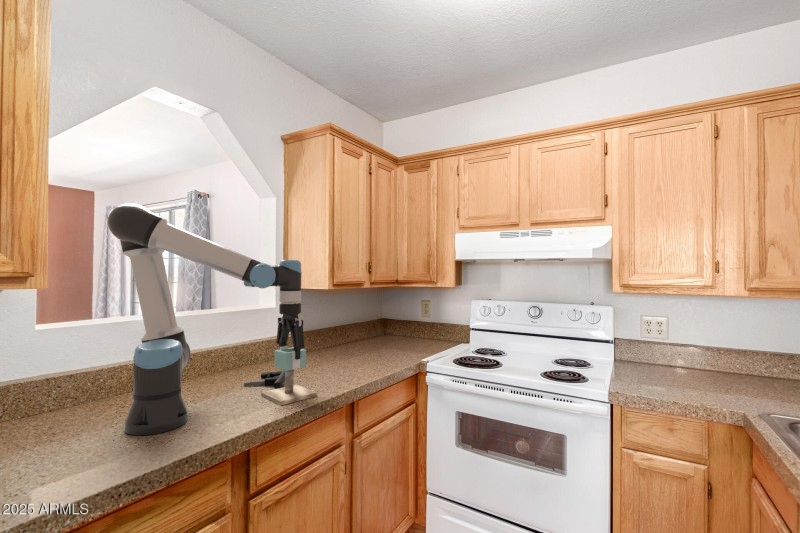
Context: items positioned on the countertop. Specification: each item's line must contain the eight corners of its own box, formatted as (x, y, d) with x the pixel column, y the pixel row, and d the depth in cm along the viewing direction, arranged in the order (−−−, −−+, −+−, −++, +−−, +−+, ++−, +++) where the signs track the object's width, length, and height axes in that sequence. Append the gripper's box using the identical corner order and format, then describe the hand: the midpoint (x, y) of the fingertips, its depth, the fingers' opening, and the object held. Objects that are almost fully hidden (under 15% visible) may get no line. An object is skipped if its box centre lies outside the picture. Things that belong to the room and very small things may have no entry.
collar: (285, 371, 129) (285, 353, 129) (274, 367, 134) (274, 350, 135) (306, 366, 135) (306, 350, 135) (294, 363, 140) (294, 347, 140)
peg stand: (280, 405, 124) (281, 365, 125) (261, 395, 134) (261, 358, 134) (316, 395, 134) (317, 358, 135) (296, 387, 144) (296, 353, 144)
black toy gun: (239, 385, 140) (283, 381, 142) (253, 371, 159) (291, 368, 162) (239, 394, 140) (284, 390, 142) (253, 379, 159) (292, 376, 162)
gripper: (315, 303, 130) (315, 369, 130) (285, 300, 145) (284, 360, 144) (296, 305, 125) (295, 373, 124) (266, 301, 139) (266, 363, 139)
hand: (289, 366), depth 134 cm, fingers closed on collar, 8 cm apart
